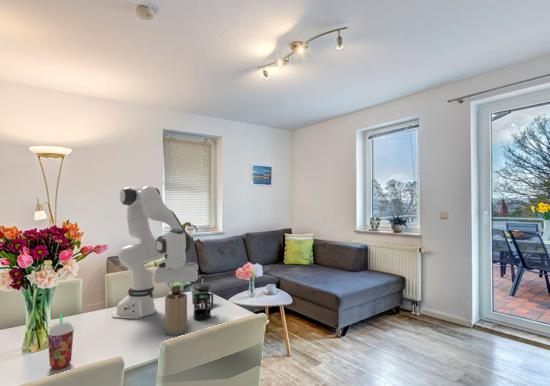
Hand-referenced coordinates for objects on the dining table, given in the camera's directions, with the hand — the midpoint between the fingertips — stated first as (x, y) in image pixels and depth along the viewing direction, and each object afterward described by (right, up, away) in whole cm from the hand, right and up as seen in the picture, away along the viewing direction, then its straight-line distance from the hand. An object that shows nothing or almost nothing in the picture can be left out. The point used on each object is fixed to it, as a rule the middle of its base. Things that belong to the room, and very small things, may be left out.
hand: (176, 291), depth 150 cm
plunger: (0, -14, 0) cm, 14 cm away
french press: (+9, -20, +17) cm, 28 cm away
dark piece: (+2, -20, +38) cm, 43 cm away
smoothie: (-35, -19, -31) cm, 51 cm away
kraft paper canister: (0, -19, +1) cm, 19 cm away
